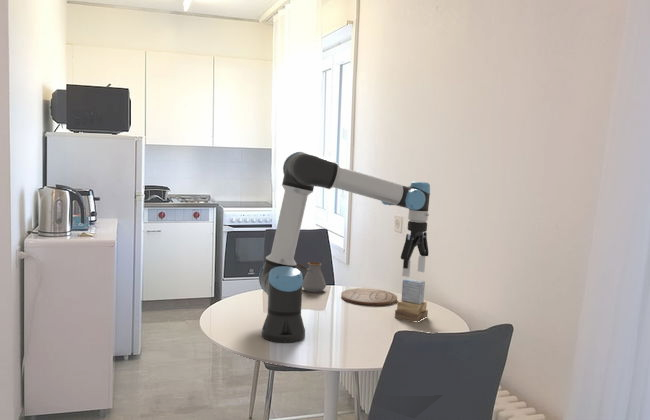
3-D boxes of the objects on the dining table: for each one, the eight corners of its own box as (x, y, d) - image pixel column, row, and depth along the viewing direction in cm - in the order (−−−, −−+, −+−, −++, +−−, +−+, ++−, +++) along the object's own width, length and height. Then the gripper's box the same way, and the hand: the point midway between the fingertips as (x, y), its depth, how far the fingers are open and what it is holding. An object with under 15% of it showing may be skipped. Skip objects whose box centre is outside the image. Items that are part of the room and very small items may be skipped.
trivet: (338, 304, 244) (338, 300, 244) (343, 290, 269) (343, 286, 269) (397, 308, 241) (397, 304, 241) (396, 294, 266) (397, 290, 266)
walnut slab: (417, 323, 222) (418, 315, 221) (394, 318, 227) (395, 310, 227) (427, 318, 229) (427, 310, 229) (404, 313, 235) (405, 305, 234)
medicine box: (423, 302, 227) (425, 281, 226) (419, 304, 223) (420, 283, 222) (405, 299, 231) (407, 278, 230) (401, 301, 227) (402, 279, 227)
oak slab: (417, 314, 222) (418, 305, 222) (396, 309, 227) (397, 301, 227) (426, 310, 229) (426, 301, 228) (405, 305, 234) (406, 297, 233)
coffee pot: (310, 286, 273) (311, 255, 271) (330, 290, 267) (332, 258, 265) (283, 294, 255) (285, 261, 253) (304, 299, 249) (306, 265, 247)
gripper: (412, 224, 212) (408, 280, 214) (439, 220, 232) (435, 271, 234) (394, 221, 216) (390, 276, 218) (422, 218, 236) (418, 268, 238)
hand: (413, 274), depth 226 cm, fingers open, 13 cm apart
